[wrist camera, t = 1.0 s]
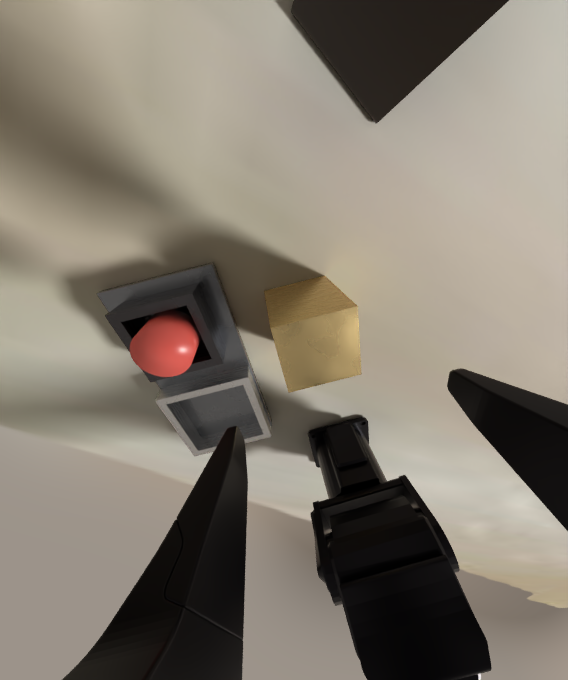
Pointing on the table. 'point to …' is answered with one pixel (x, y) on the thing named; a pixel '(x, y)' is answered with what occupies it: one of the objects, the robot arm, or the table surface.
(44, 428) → the table surface
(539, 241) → the table surface
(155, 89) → the table surface
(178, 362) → the red rounded part
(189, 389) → the ball holder tray
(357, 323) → the billet
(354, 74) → the phone stand
